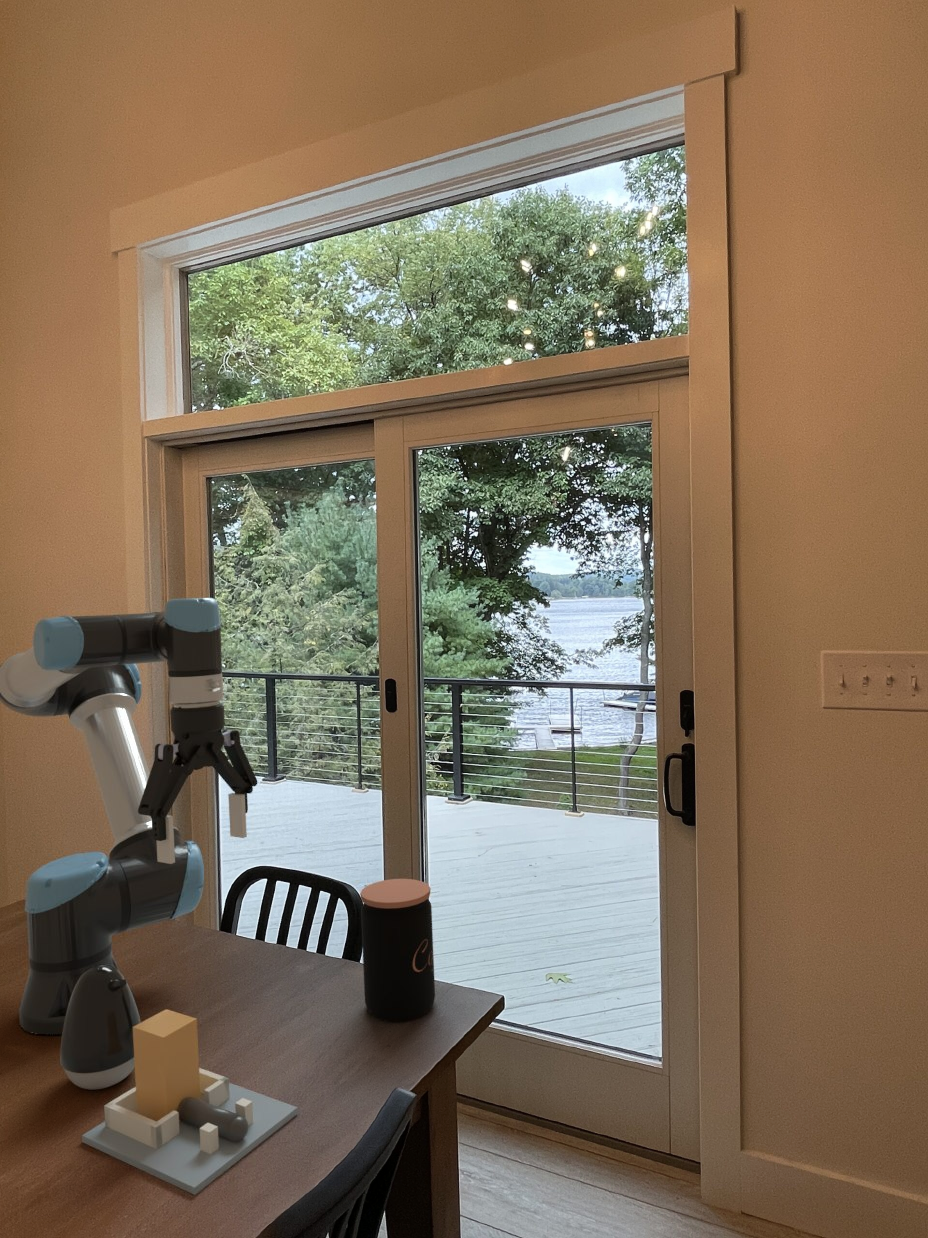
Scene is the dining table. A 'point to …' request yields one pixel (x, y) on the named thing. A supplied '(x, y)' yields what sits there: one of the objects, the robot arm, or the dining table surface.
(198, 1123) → the plug
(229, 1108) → the board
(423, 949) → the coffee jar
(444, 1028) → the dining table surface
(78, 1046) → the dark grey egg shape
